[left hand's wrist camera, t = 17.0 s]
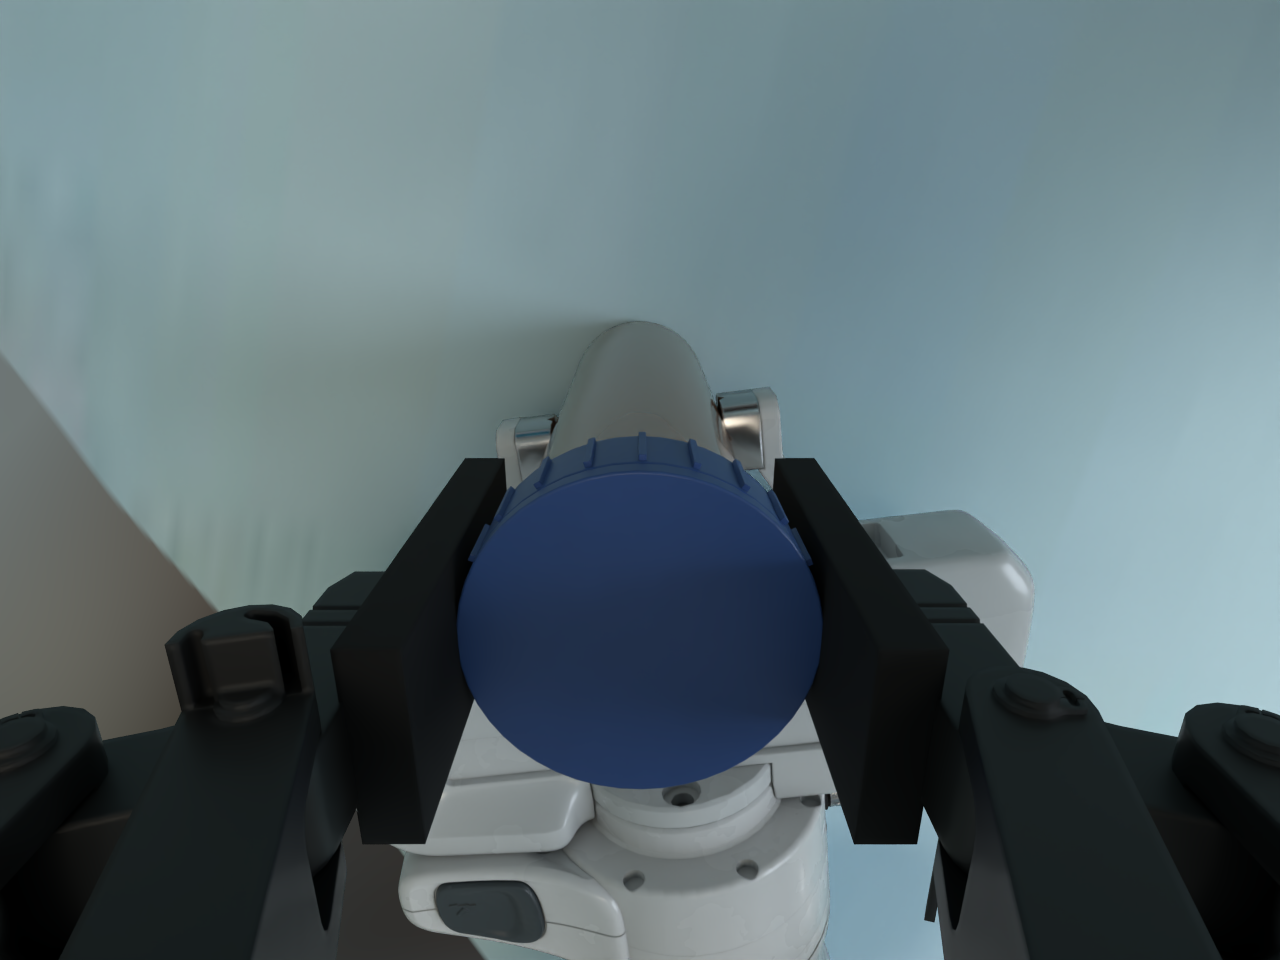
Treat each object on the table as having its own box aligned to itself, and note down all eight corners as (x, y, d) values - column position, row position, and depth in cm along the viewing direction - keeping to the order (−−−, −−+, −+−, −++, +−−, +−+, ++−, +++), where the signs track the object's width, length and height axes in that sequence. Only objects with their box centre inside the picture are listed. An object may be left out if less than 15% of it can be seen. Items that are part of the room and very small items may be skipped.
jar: (597, 459, 27) (542, 777, 12) (560, 340, 25) (443, 531, 10) (715, 427, 26) (817, 715, 11) (685, 305, 25) (754, 449, 10)
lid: (536, 753, 13) (522, 826, 12) (426, 480, 11) (392, 523, 10) (831, 685, 13) (858, 751, 11) (765, 389, 11) (786, 418, 9)
